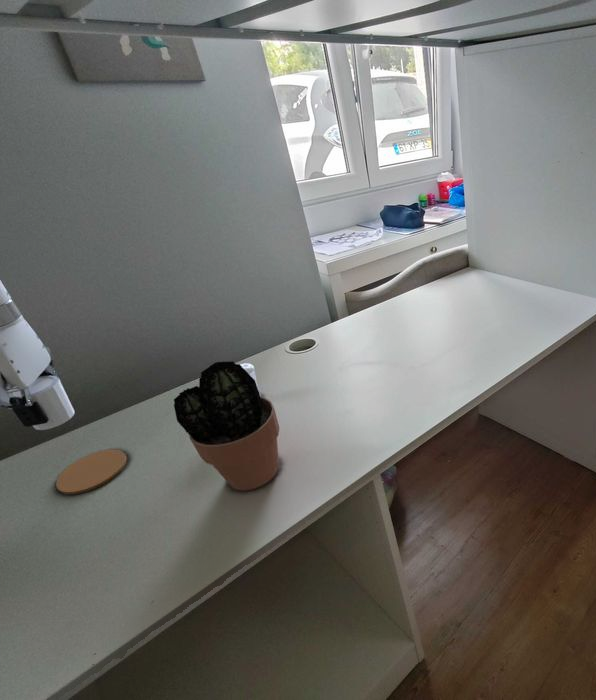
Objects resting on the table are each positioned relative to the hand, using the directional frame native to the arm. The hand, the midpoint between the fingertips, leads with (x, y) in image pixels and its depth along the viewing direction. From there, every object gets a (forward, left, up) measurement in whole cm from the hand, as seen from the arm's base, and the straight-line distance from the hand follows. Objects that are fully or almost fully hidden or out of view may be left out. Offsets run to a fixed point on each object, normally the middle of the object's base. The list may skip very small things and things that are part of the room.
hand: (47, 409), depth 76 cm
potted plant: (+29, -10, -17) cm, 35 cm away
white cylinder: (0, 0, -2) cm, 2 cm away
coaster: (-1, +2, -17) cm, 17 cm away
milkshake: (+27, +15, -17) cm, 35 cm away
